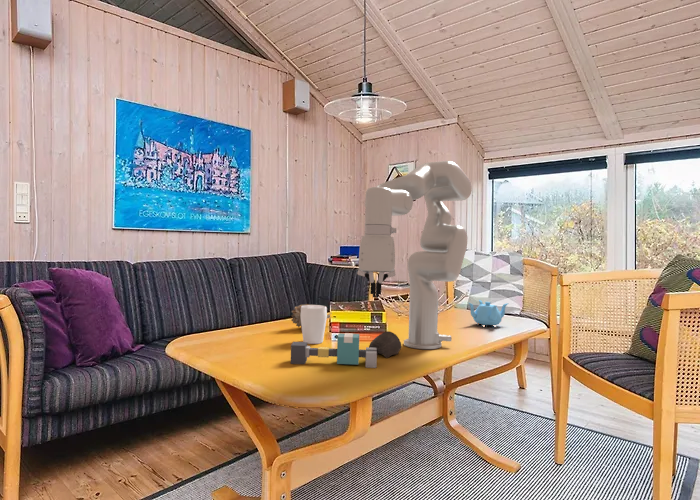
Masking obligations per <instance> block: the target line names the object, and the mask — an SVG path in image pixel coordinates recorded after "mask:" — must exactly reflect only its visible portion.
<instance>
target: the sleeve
mask: <svg viewBox="0 0 700 500" xmlns="http://www.w3.org/2000/svg"><path fill="white" fill-rule="evenodd" d="M336 344H337V346H336V349H337V357H336V364H337V365H359V362H360V361H359V360H360V357H359V350H360V333H352V332H351V333H349V332H345V333H340V332H338V334H337V341H336Z"/></svg>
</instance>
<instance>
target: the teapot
mask: <svg viewBox="0 0 700 500" xmlns="http://www.w3.org/2000/svg"><path fill="white" fill-rule="evenodd" d="M478 302H479V305H478V306H477V307H476V309H475V308H474V304H473V303H471V302H468V304H469V306H470V316H471V317H472V318H473V321H474V323H477V324H478V323H479V324H482V325H486V326H492V325H497V326H498V325H499V324H500V323H501V322H502V320H503V318H504V316H505V314H506V307H507V306H508V305H509V303H507V302H506V303H504V304H503V305H502V306H501V310H500V309H499V308H498V307H497V306H498V305H495V304H491V301H485V302H484V303H483V301H482V300H481V299H478ZM482 325H481V326H482Z"/></svg>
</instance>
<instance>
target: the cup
mask: <svg viewBox="0 0 700 500" xmlns="http://www.w3.org/2000/svg"><path fill="white" fill-rule="evenodd" d="M303 305H304V306H301V314H300V317H301V326H302V328H301V333H302V342H307V345H309V344H310V345H317V344H322V343H323V342H324V337H325V330H326V325H327V319H328V318H327V315H328V313H327V312H328V311H327V310H328V308H327V306H326V305H321V304H309V305H305V304H303ZM301 326H300V327H301Z"/></svg>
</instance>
